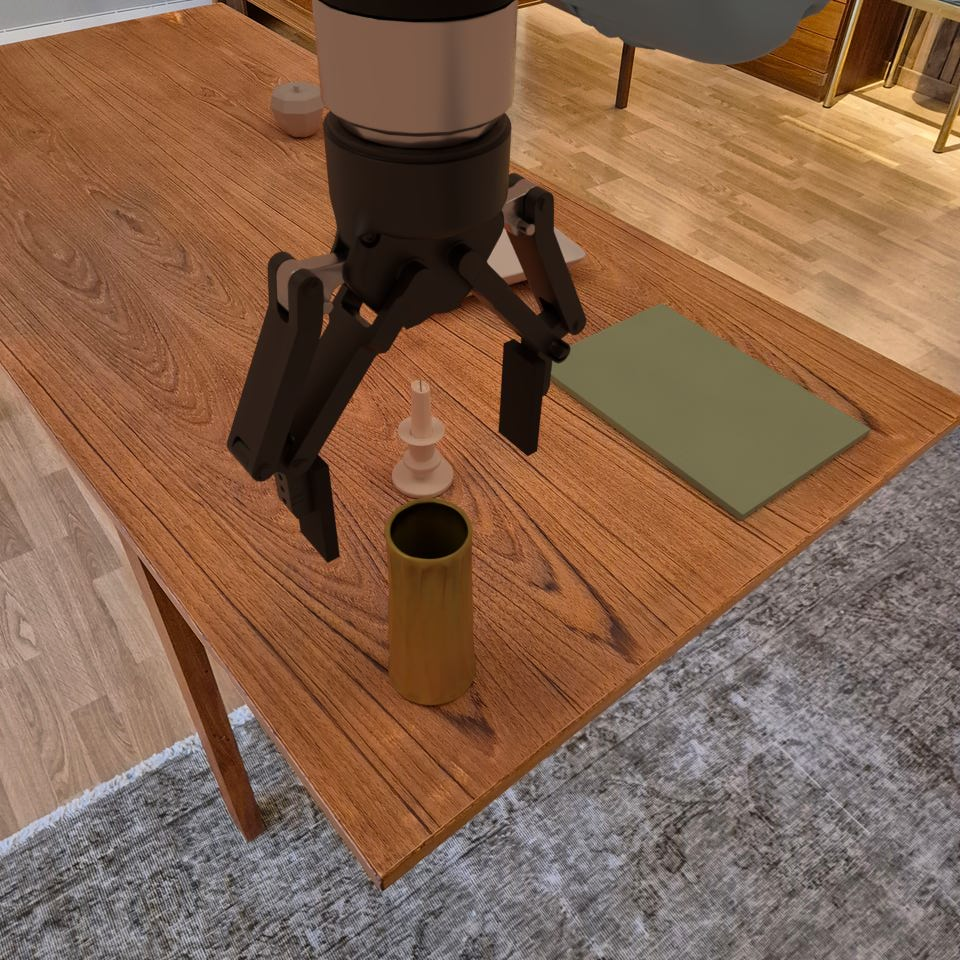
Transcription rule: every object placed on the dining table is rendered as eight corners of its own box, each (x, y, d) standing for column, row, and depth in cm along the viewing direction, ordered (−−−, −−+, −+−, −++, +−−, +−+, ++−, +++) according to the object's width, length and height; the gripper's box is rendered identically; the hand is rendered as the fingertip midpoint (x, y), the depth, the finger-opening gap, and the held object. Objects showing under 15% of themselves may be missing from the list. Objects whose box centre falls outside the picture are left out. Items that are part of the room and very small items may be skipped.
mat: (868, 435, 81) (871, 428, 81) (740, 521, 73) (742, 514, 72) (659, 308, 96) (661, 302, 95) (533, 368, 87) (534, 361, 87)
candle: (463, 467, 77) (464, 370, 70) (437, 506, 73) (436, 408, 66) (409, 450, 78) (405, 353, 71) (381, 488, 75) (373, 390, 67)
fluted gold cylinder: (443, 619, 65) (442, 478, 55) (493, 677, 61) (501, 538, 52) (371, 659, 62) (356, 518, 52) (419, 723, 59) (413, 585, 49)
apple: (267, 125, 128) (260, 78, 123) (320, 118, 130) (315, 71, 126) (281, 147, 123) (275, 99, 118) (336, 139, 125) (332, 91, 121)
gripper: (582, 25, 43) (547, 376, 58) (67, 152, 31) (187, 550, 46) (700, 72, 39) (629, 437, 54) (157, 239, 27) (257, 645, 42)
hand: (425, 490), depth 50 cm, fingers open, 13 cm apart
